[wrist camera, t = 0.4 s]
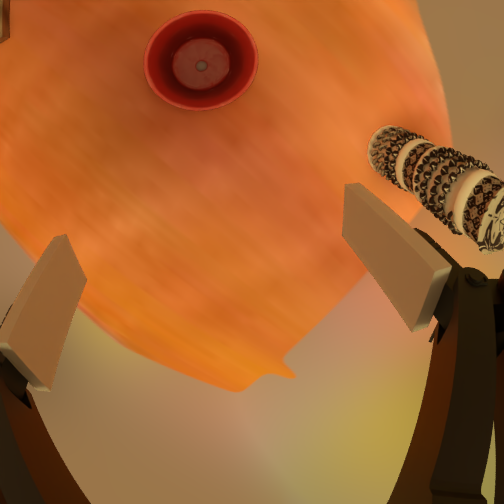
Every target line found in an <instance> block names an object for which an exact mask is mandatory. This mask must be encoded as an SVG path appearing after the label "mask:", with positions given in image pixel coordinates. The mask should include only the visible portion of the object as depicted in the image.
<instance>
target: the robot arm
mask: <svg viewBox="0 0 504 504" xmlns="http://www.w3.org/2000/svg"><path fill="white" fill-rule="evenodd" d="M342 236H343V237H344V239H345V240H346V241H347V243H348V244H349V245H350V247H351V248H352V249H353V250H354V252H355V253H356V254H357V256H358V257H359V258H360V260H361V261H362V262H363V264H364V265H365V266H366V268H367V269H368V270H369V272H370V273H371V274H372V276H373V277H374V279H375V280H376V281H377V283H378V284H379V286H380V287H381V288H382V290H383V291H384V293H385V294H386V295H387V297H388V298H389V299H390V301H391V303H392V304H393V305H394V307H395V308H396V310H397V311H398V313H399V314H400V316H401V317H402V318H403V320H404V321H405V323H406V325H407V326H408V328H409V329H410V331H411V332H415V331H418V330H420V329H423V328H426V327H428V325H429V323H430V321H431V319H432V316H433V315H434V316H435V318H436V319H437V320H438V323H437V325H436V327H435V329H434V331H433V334H432V336H431V337H430V340H429V342H432V340H433V338H434V343H433V349H432V355H431V361H430V367H429V372H428V377H427V382H426V387H425V391H424V396H423V400H422V405H421V409H420V412H419V416H418V420H417V423H416V427H415V430H414V434H413V437H412V440H411V443H410V446H409V449H408V453H407V455H406V458H405V461H404V464H403V467H402V469H401V472H400V474H399V477H398V480H397V482H396V485H395V487H394V490H393V492H392V494H391V496H390V499H389V500H388V502H387V504H487V500H486V499H485V497H484V496H483V495H482V494H481V486H482V482H483V477H484V473H485V469H486V464H487V459H488V454H489V448H490V443H491V436H492V429H493V421H494V429H495V446H496V480H495V497H494V504H504V269H503V271H502V274H501V276H500V278H499V279H488V278H487V276H486V275H485V274H483V273H482V272H481V271H479V270H477V269H475V268H470V267H465V268H462V267H461V266H460V265H459V264H458V263H457V262H456V261H455V260H454V259H453V258H452V257H451V256H450V255H449V254H448V253H447V252H446V251H445V250H444V249H441V246H440V245H439V244H438V243H435V241H434V240H433V239H432V238H431V237H430V236H429V235H428V234H427V233H425V232H423V231H421V230H419V229H417V228H412V227H411V226H410V225H409V224H408V223H406V222H405V221H404V220H403V219H402V218H401V217H400V216H399V215H397V214H396V213H395V212H394V211H393V210H392V209H391V208H389V207H388V206H387V205H386V204H385V203H383V202H382V201H381V200H380V199H379V198H377V197H376V196H375V195H374V194H373V193H371V192H370V191H369V190H368V189H366V188H365V187H364V186H363V185H361V184H360V183H353V184H345V193H344V212H343V228H342ZM86 282H87V278H86V276H85V274H84V272H83V270H82V268H81V266H80V264H79V262H78V260H77V257H76V255H75V253H74V251H73V249H72V246H71V244H70V242H69V239H68V237H67V235H66V234H64V235H61V236H57V237H54V238H53V240H52V241H51V242H50V244H49V245H48V247H47V248H46V250H45V251H44V253H43V254H42V256H41V257H40V259H39V261H38V262H37V264H36V265H35V267H34V268H33V270H32V272H31V273H30V275H29V277H28V278H27V280H26V282H25V284H24V285H23V287H22V289H21V290H20V292H19V294H18V296H17V297H16V299H15V301H14V303H13V304H12V305H11V306H10V308H9V310H8V312H7V314H6V317H5V318H4V320H3V322H2V325H1V326H0V504H91V503H90V502H89V500H88V499H87V498H86V496H85V495H84V493H83V492H82V490H81V489H80V487H79V486H78V484H77V483H76V481H75V480H74V478H73V476H72V475H71V473H70V472H69V470H68V468H67V466H66V465H65V463H64V461H63V460H62V458H61V456H60V454H59V452H58V451H57V449H56V447H55V445H54V443H53V441H52V439H51V437H50V435H49V434H48V431H47V429H46V427H45V425H44V423H43V421H42V418H41V416H40V414H39V412H38V409H37V407H36V405H35V402H34V400H33V397H32V395H31V393H30V392H29V391H28V390H27V389H26V386H27V383H28V382H29V383H30V384H31V385H32V386H33V387H34V388H35V389H36V390H38V391H51V388H52V384H53V381H54V376H55V373H56V369H57V365H58V362H59V359H60V355H61V352H62V349H63V345H64V342H65V339H66V336H67V333H68V330H69V327H70V324H71V321H72V318H73V315H74V313H75V310H76V307H77V305H78V302H79V299H80V297H81V294H82V292H83V289H84V287H85V284H86Z"/></svg>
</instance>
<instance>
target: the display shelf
mask: <svg viewBox="0 0 504 504" xmlns="http://www.w3.org/2000/svg"><path fill="white" fill-rule="evenodd" d="M9 4H10V0H0V43H1V42H3V41H5V40H6V39H8V38H9V37H10V34H9Z"/></svg>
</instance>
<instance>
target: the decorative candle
mask: <svg viewBox="0 0 504 504" xmlns="http://www.w3.org/2000/svg"><path fill="white" fill-rule="evenodd" d="M367 157H368V162H369V164H370V165H371V167H372V168H373V170H374V171H376V172H378V173H379V174H381V176H382V177H383V176H385V175H386V180H392V183H393V184H394V185H397V186H398V188H400V189H404V190H405V191H409V192H410V193H412V194H414V195H415V196H416V198H417V200H418V201H419V202H420V203H422V205H423V206H424V207H426V209H427V210H430V211H431V212H432V213H433V214H434V216H435V217H436V218H439V220H440V221H441V222H443V224H444V225H448V228H449V229H450V230H451V231H452V233H453V234H458V235H462V234H464V235H465V236H467V237H468V238H471V239H472V240H473V241H475V242H476V243H477V244H478V245H479V250H480V251H481V252H482V253H483V254H492V253H493V252H497V251H503V250H504V182H503V181H502V180H500V179H499V178H498V177H497V176H496V175H495V174H494V173H493V172H492V171H491V170H489V166H488V165H487V164H485V163H484V164H483V163H482V162H481V161H480V160H475V159H474V158H473V157H472V156H466V155H465V154H463V155H462V154H461V152H459V151H455V150H454V149H453V148H448V147H444V146H440V145H438V146H435V145H434V144H433V143H432V142H430V141H429V140H427V139H424V137H423V136H421V135H418V136H417V134H416V133H411V132H410V131H409V130H407V129H403V128H401V127H397V126H392V125H387V126H383V127H380V128H379V129H378V130H377V131H376V132H374V133H373V135H372V137H371V139H370V140H369V142H368V148H367ZM475 165H476V166H477V167H478V168H477V167H476V166H475ZM446 217H447V219H446ZM454 224H455V225H454ZM455 226H456V228H457V229H455V228H454V227H455Z"/></svg>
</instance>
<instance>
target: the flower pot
mask: <svg viewBox="0 0 504 504" xmlns="http://www.w3.org/2000/svg"><path fill="white" fill-rule="evenodd" d="M143 66H144V73H145V77H146V80H147V82H148V84H149V86H150V87H151V89H152V90H153V91H154V92H155V93H156V94H157V95H158V96H159V97H160V98H161V99H162V100H164V101H166V102H167V103H169V104H171V105H173V106H176V107H178V108H182V109H186V110H192V111H205V110H212V109H216V108H220V107H222V106H225V105H227V104H229V103H231V102H233V101H234V100H236V99H237V98H239V97H240V96H241V95H242V94H243V93H244V92H245V91H246V90H247V89H248V88H249V87H250V85H251V84H252V82H253V80H254V78H255V75H256V72H257V68H258V51H257V47H256V44H255V41H254V39H253V37H252V36H251V34H250V33H249V31H248V30H247V29H246V28H245V27H244V26H243V25H242V24H241V23H240V22H239V21H237V20H236V19H234V18H233V17H231V16H228V15H226V14H223V13H220V12H216V11H209V10H197V11H190V12H186V13H183V14H180V15H178V16H175V17H173V18H172V19H170V20H168V21H167V22H165V23H164V24H163V25H162V26H161V27H159V28H158V30H157V31H156V32H155V33H154V34H153V36H152V37H151V39H150V41H149V42H148V44H147V47H146V50H145V53H144V61H143Z"/></svg>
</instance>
